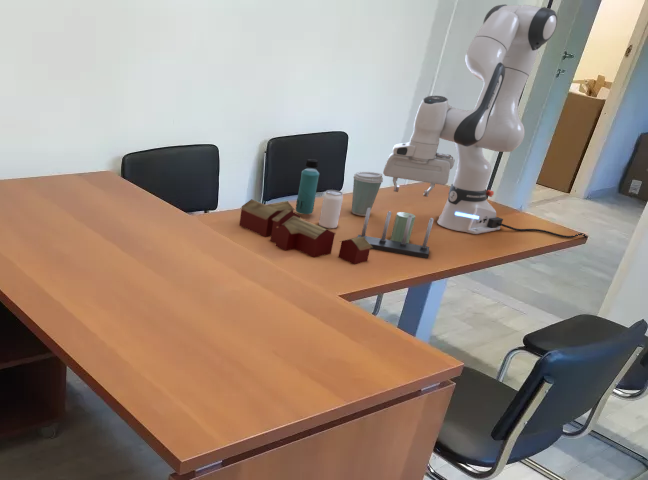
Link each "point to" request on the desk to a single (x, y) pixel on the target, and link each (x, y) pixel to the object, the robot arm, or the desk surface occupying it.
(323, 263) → the desk surface
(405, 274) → the desk surface
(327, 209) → the can
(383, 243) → the dish rack
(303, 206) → the beverage bottle
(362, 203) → the disposable coffee cup
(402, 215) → the cup
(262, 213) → the toy houses
